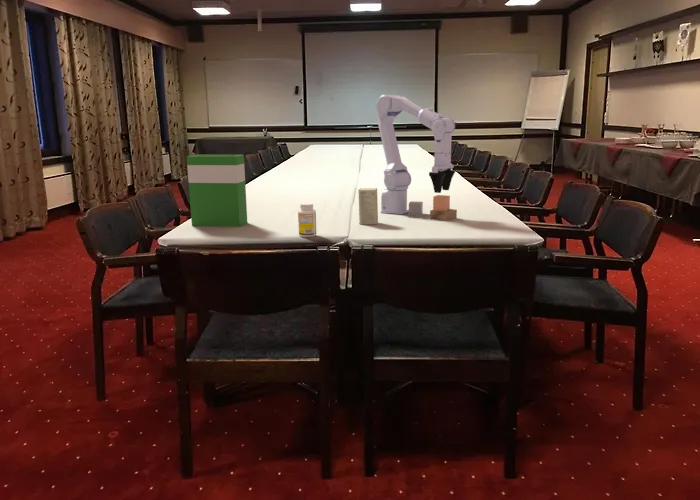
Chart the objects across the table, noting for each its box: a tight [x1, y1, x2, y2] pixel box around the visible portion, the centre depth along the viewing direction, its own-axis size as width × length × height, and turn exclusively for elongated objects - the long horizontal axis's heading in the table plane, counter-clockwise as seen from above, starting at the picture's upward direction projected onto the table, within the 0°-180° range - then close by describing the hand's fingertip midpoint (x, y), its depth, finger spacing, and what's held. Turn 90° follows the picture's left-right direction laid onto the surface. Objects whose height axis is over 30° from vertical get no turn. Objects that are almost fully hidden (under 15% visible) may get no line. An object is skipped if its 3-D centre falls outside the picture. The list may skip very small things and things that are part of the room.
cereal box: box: [186, 154, 248, 228], centre depth 200 cm, size 18×7×24 cm, turn 79°
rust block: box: [432, 194, 451, 211], centre depth 207 cm, size 4×4×5 cm
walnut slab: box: [429, 208, 458, 222], centre depth 207 cm, size 7×7×4 cm
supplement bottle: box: [297, 202, 317, 238], centre depth 180 cm, size 6×6×10 cm
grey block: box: [408, 200, 424, 218], centre depth 214 cm, size 4×4×5 cm
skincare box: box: [358, 187, 379, 225], centre depth 199 cm, size 6×4×12 cm
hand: (441, 191), depth 206 cm, fingers open, 7 cm apart
